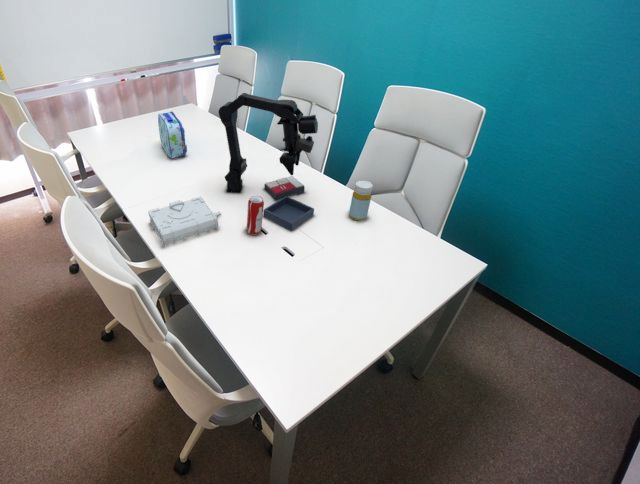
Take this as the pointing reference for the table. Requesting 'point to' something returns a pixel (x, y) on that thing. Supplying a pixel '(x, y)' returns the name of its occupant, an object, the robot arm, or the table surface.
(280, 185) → the calculator
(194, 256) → the table surface
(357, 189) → the bottle
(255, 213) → the beverage can
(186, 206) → the grey case
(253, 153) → the table surface
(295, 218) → the tray
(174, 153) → the lunch box
